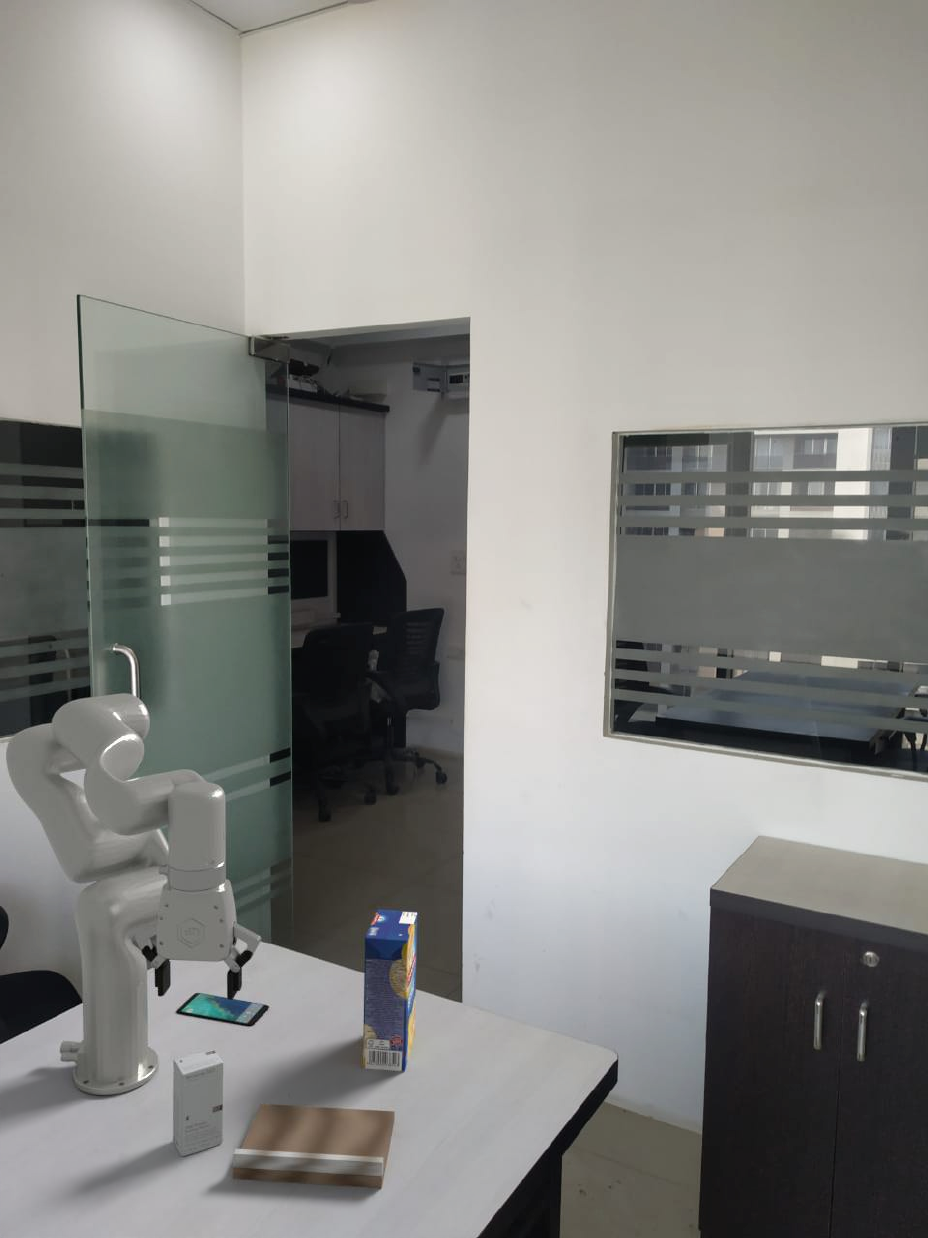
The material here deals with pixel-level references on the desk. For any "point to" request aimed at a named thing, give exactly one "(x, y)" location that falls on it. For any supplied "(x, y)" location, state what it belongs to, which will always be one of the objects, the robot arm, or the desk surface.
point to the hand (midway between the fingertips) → (198, 993)
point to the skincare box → (197, 1102)
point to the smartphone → (223, 1009)
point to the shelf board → (316, 1146)
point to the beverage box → (389, 990)
